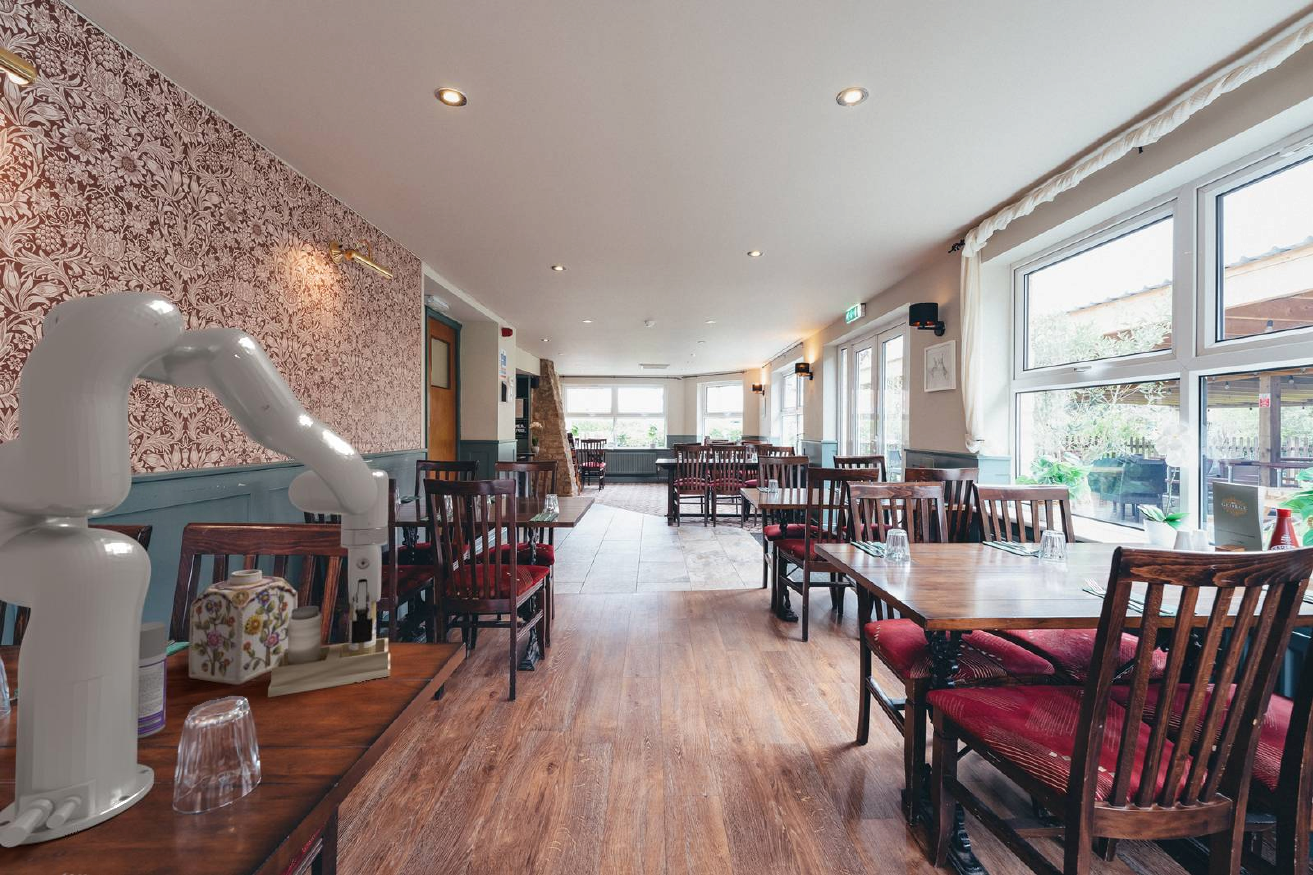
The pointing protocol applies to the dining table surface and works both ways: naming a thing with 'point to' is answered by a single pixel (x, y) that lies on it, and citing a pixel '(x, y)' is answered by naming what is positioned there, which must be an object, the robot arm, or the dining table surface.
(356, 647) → the sprinkles bottle
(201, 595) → the decorative jar
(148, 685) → the container
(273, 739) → the dining table surface
